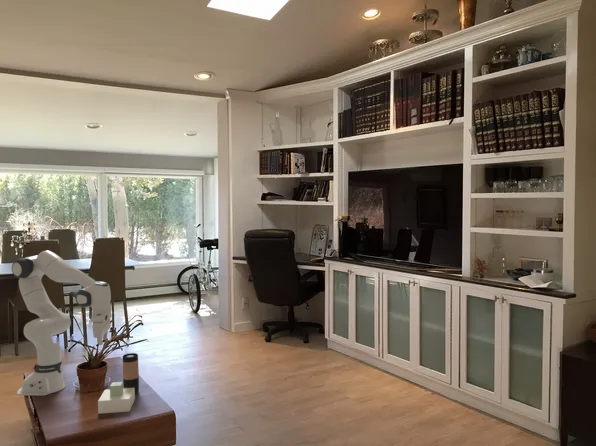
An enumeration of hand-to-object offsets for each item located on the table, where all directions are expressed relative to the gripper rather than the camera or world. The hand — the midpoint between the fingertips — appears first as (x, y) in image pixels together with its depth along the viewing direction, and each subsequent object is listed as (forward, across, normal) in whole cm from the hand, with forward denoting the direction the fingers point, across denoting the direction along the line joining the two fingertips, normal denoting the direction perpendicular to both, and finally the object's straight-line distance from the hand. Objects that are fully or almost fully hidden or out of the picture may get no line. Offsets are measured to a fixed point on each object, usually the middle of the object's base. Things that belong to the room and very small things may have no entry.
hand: (102, 341), depth 243 cm
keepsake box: (+29, +10, +8) cm, 32 cm away
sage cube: (+23, +10, +8) cm, 26 cm away
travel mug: (+29, -5, +12) cm, 32 cm away
